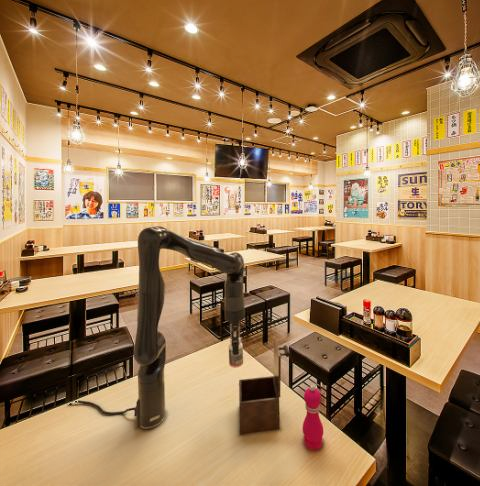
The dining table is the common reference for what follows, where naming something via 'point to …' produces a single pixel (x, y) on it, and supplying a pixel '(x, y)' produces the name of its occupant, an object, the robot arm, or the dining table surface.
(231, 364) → the pill bottle
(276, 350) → the lid
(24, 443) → the dining table surface
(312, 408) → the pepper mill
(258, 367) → the dining table surface
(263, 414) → the chest
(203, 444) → the dining table surface
